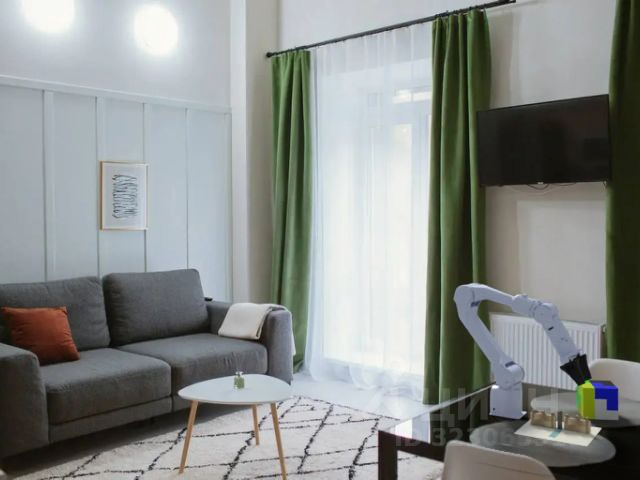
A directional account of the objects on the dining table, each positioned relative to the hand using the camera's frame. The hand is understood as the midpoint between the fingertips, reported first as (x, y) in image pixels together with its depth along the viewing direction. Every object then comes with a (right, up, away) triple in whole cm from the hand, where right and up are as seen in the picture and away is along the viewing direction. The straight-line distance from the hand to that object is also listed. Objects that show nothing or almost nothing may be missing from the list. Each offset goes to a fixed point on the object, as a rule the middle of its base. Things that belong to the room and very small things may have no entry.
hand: (585, 382), depth 191 cm
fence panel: (-4, -13, -4) cm, 14 cm away
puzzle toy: (+9, -13, +12) cm, 20 cm away
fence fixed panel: (-11, -13, +1) cm, 17 cm away
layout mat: (-9, -14, -2) cm, 17 cm away
